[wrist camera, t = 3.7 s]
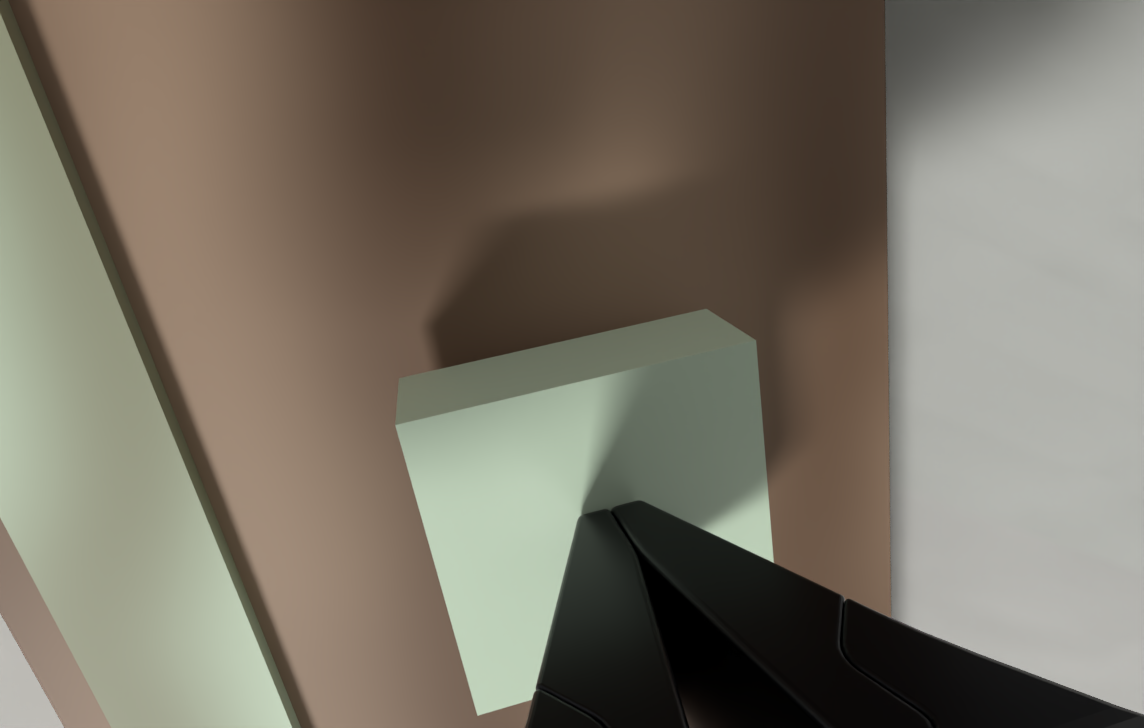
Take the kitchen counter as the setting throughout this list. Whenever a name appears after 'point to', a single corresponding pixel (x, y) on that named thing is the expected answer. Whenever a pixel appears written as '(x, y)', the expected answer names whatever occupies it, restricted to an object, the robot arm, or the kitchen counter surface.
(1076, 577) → the kitchen counter surface
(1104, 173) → the kitchen counter surface
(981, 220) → the kitchen counter surface
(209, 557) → the button panel
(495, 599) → the sage green button
